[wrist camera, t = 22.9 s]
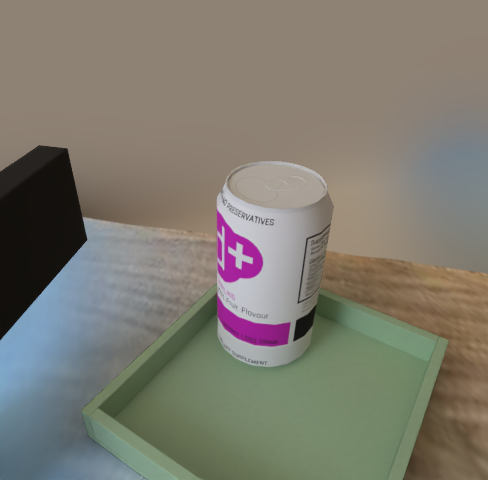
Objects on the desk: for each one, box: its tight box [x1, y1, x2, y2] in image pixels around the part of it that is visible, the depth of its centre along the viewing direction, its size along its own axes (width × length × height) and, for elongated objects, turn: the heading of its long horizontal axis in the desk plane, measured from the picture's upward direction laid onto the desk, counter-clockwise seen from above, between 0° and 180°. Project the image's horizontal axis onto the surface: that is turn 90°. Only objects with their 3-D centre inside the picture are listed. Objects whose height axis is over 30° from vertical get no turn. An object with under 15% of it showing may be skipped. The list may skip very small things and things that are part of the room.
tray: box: [81, 283, 449, 480], centre depth 34 cm, size 20×21×3 cm
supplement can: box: [217, 161, 334, 367], centre depth 35 cm, size 8×8×15 cm
